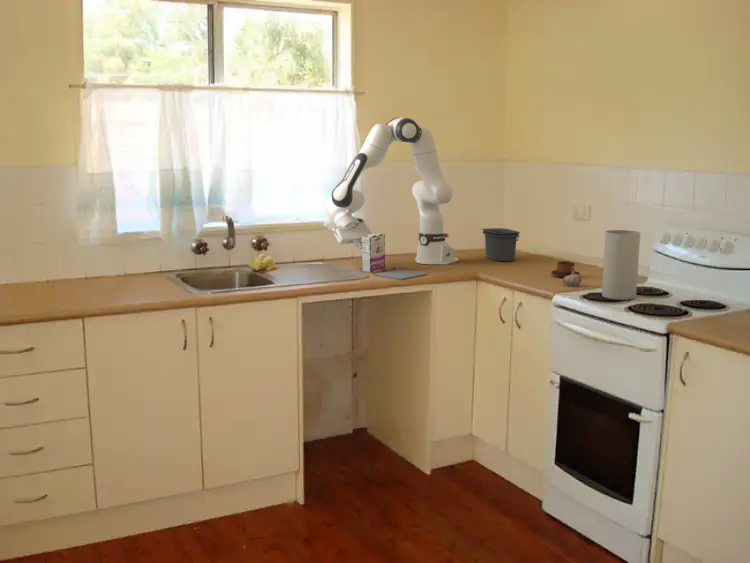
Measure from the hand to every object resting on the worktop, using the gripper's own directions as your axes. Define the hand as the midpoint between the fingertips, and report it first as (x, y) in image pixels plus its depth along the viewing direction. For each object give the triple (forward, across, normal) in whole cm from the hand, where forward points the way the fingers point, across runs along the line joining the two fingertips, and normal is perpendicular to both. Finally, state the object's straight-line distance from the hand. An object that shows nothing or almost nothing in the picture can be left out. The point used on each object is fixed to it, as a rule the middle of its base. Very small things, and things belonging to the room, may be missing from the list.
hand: (362, 248), depth 368 cm
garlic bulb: (+70, +31, -56) cm, 95 cm away
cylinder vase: (+87, +22, -74) cm, 116 cm away
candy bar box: (+12, 0, +2) cm, 12 cm away
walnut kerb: (+16, 0, -3) cm, 16 cm away
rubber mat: (+23, 0, -10) cm, 25 cm away
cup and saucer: (+61, +48, -47) cm, 90 cm away
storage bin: (+27, +69, -14) cm, 75 cm away
